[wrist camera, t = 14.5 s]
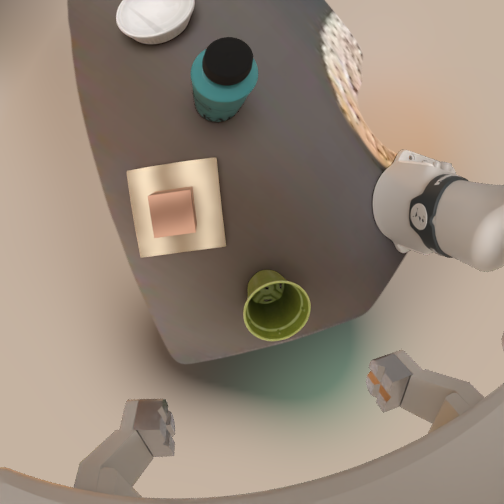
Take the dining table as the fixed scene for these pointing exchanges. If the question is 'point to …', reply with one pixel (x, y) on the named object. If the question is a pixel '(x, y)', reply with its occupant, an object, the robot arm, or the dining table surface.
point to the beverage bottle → (223, 78)
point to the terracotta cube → (173, 212)
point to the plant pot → (275, 307)
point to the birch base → (205, 199)
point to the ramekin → (153, 19)
